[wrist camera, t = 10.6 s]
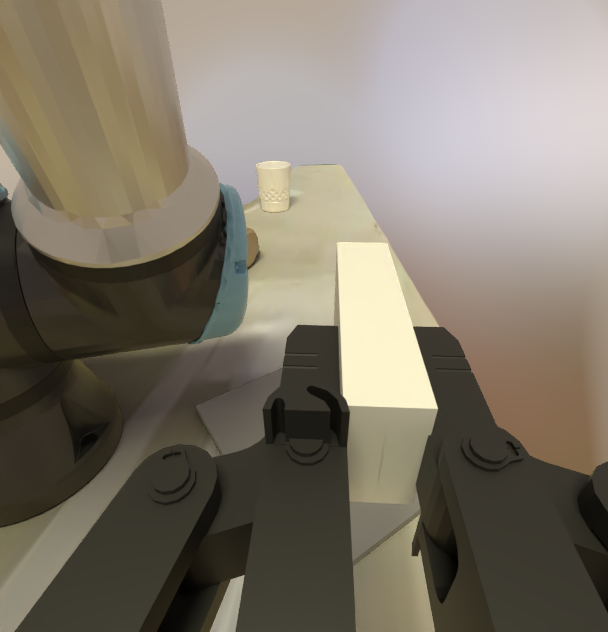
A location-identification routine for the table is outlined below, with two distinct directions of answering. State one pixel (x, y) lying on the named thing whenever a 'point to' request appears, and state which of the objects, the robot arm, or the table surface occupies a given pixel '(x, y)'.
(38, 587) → the table surface
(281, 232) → the table surface
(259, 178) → the white cup
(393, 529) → the mat
